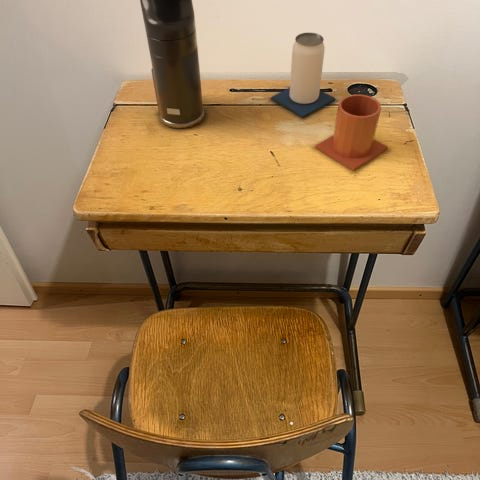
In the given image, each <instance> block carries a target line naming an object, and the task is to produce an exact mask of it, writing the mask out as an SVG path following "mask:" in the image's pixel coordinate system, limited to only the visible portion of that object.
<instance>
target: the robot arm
mask: <svg viewBox="0 0 480 480" xmlns="http://www.w3.org/2000/svg"><path fill="white" fill-rule="evenodd" d="M139 4H140V9H141V13H142V20H143V23H144V30H145V35H146V40H147V46H148V51H149V56H150V63H151V76H152V80H153V82H152V83H153V88H154V92H155V93H154V94H155V98H156V104H157V110H158V114H159V117H160V121H161V123H163V124H164V125H165V126H167V127H169V128H172V129H187V128H191V127H194V126H196V125H198V124H200V123H201V122H202V121H203V119H204V118H205V109H204V102H203V90H202V80H201V70H200V58H199V48H198V47H199V46H198V39H197V38H198V37H197V27H196V18H195V10H194V3H193V0H139Z"/></svg>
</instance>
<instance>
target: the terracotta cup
mask: <svg viewBox="0 0 480 480" xmlns="http://www.w3.org/2000/svg"><path fill="white" fill-rule="evenodd" d="M381 111H382V104H381V103H380V102H379V101H378V99H376V98H375V97H372V96H370V95H365V94H358V93H357V94H356V93H355V94H350V95H346V96H344V97H343V98H341V99H340V101H339V102H338V104H337V111H336V116H335V123H334V129H333V135H332V136H333V142H332V147H333V149H334V151H335V152H336V153H338V154H339V155H341V156H344V157H348V158H359V157H364V156H365V155H367V154H369V153H370V151H371V149H372V145H373V141H374V140H375V136H376V133H377V129H378V124H379V120H380V116H381Z"/></svg>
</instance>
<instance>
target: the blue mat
mask: <svg viewBox="0 0 480 480" xmlns="http://www.w3.org/2000/svg"><path fill="white" fill-rule="evenodd" d="M270 100H271V101H273V102H274V103H276V104H278V105H279V106H281V107H283V108H284V109H286V110H287V111H290V112H291V113H293V114H295V115H297V117H300V118H302V119H304V118H306V117H308V116H310V115H311V114H313V113H316V112H317V111H319V110H321V109H323V108H324V107H326V106H329V105H330V104H332V103H334V102H335V101H336V98H335V97H334V96H332V95H331V94H329V93H326V92H324V91H323V90H321V89H320V91H319V97H318V99H317V100H316V101H315V102H313V103H311V104H298V103H295V102H294V101H292V99H291V98H290V87H288V88H286V89H284V90H283V91H280V92H278V93H276V94H274V95H272V96H271V97H270Z"/></svg>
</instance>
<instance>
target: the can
mask: <svg viewBox="0 0 480 480" xmlns="http://www.w3.org/2000/svg"><path fill="white" fill-rule="evenodd" d="M324 40H325V39H324V36H322V35H321V34H319V33H318V32H309V31H307V32H303V33H302V32H301V33H298V35H296V36H295V38H294V43H293V45H292V51H291V63H290V65H291V66H290V80H289V88H290V98H291V99H292V101H294V102H295V103H298V104H311V103H313V102H315V101H316V100H317V99H318V97H319V91H320V90H321V85H322V83H321V82H322V74H323V65H324V59H325V43H324Z"/></svg>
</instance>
